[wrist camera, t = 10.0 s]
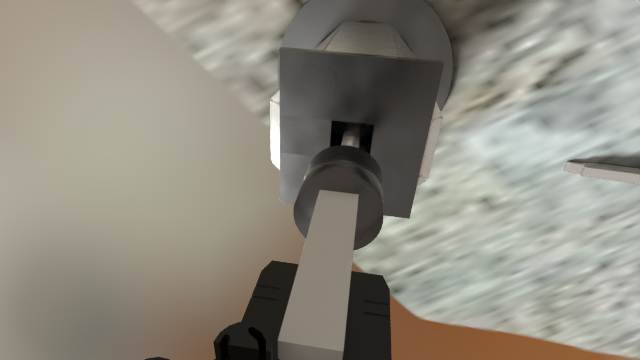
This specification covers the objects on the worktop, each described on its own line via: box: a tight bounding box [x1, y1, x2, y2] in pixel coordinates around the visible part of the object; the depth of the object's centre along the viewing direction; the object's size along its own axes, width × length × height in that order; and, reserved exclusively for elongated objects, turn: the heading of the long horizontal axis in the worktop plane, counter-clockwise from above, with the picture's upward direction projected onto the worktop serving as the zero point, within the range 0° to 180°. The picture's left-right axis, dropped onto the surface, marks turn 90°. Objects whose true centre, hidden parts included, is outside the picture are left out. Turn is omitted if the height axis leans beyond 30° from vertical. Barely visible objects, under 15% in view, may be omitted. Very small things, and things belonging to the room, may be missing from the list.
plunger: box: [294, 120, 383, 250], centre depth 22 cm, size 8×8×18 cm
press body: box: [270, 20, 444, 218], centre depth 28 cm, size 13×10×15 cm
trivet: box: [278, 0, 453, 111], centre depth 34 cm, size 16×16×1 cm
